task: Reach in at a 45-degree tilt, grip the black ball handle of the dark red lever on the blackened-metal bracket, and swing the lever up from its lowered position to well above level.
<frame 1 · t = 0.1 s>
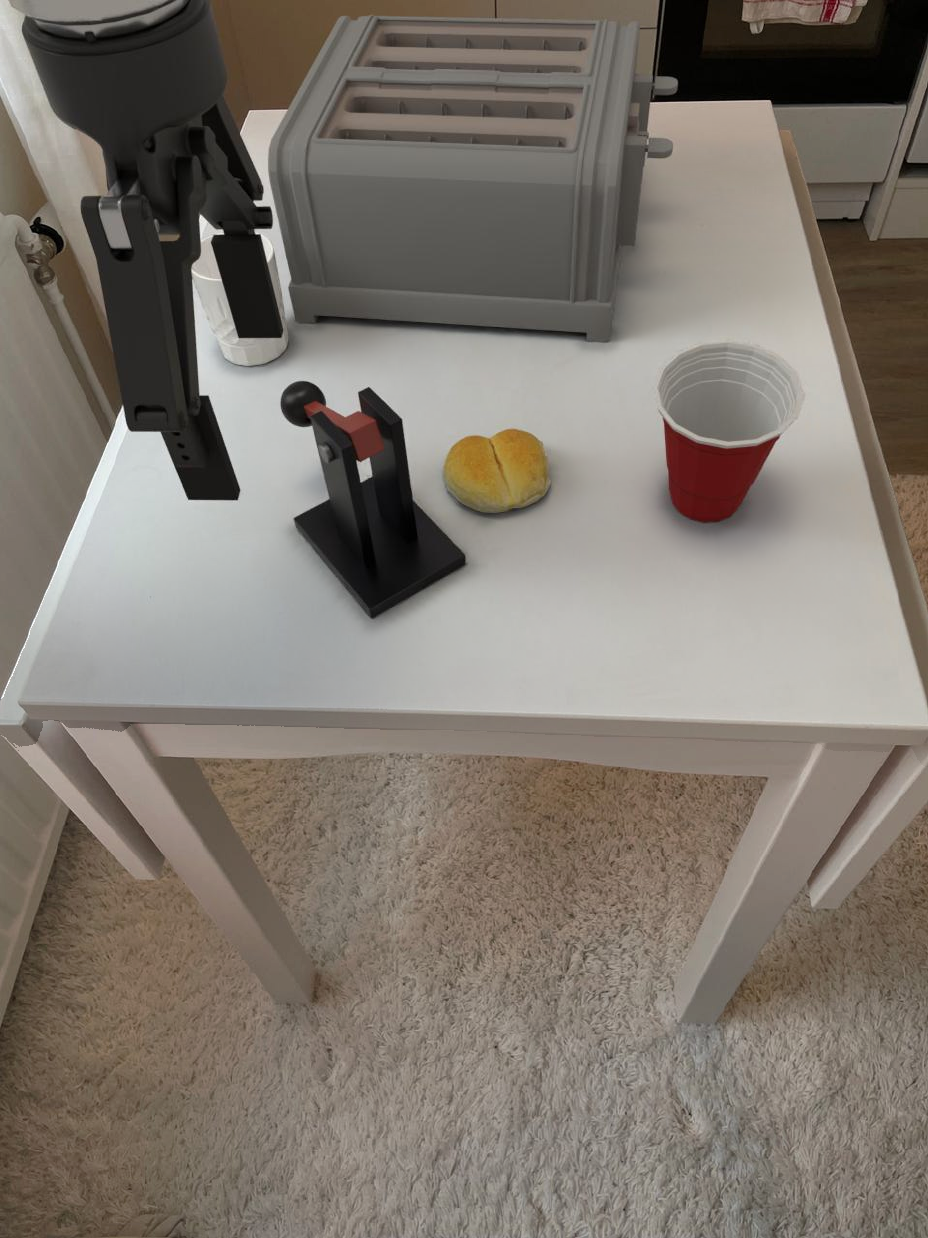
hand: (239, 409, 55), 23 cm above the table, tool pointing down, fingers open, 13 cm apart
bread roll: (499, 481, 82), on the table
plastic cup: (703, 501, 79), on the table
white cup: (255, 346, 94), on the table
lever: (328, 418, 72), point 10 cm above the table, hinge at -20.0°
bracket: (379, 545, 78), on the table
toaster: (490, 245, 103), on the table
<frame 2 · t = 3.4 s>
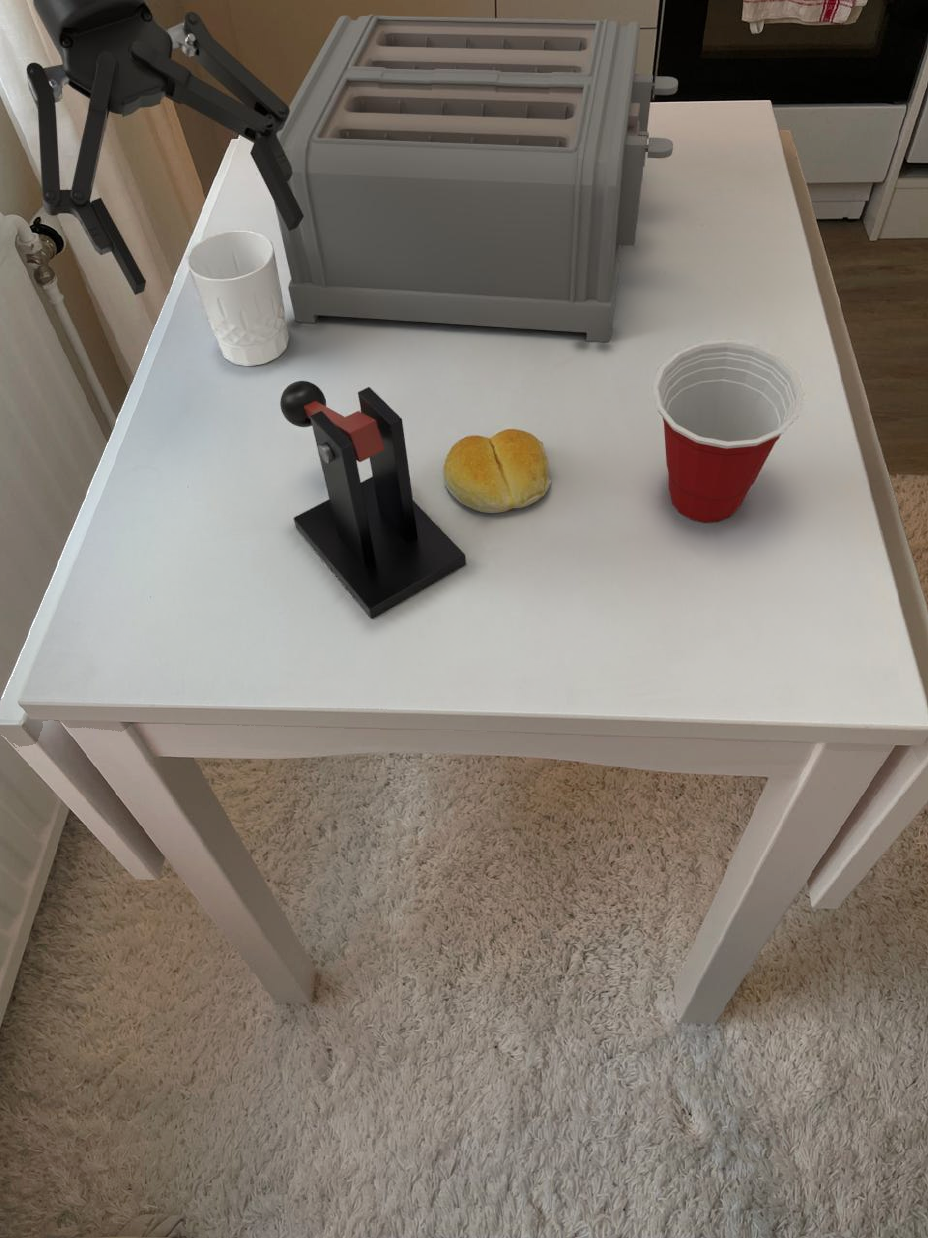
hand: (220, 255, 75), 17 cm above the table, tool tilted 45°, fingers open, 13 cm apart
nothing on the table moved.
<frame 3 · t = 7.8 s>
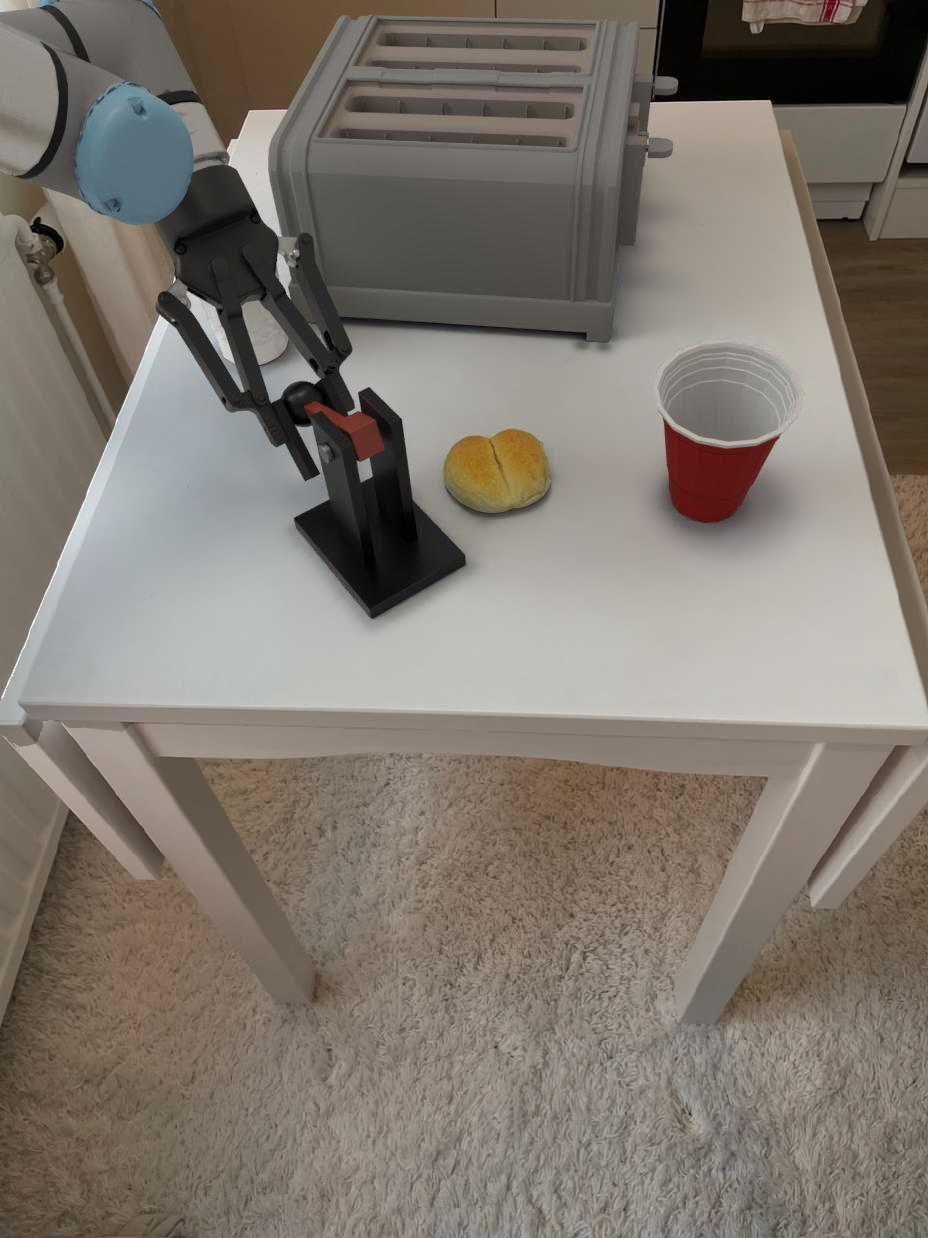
hand: (335, 465, 77), 5 cm above the table, tool tilted 45°, fingers closed on lever, 4 cm apart
lever: (328, 418, 72), point 10 cm above the table, hinge at -20.0°, touching gripper
everything else where it was.
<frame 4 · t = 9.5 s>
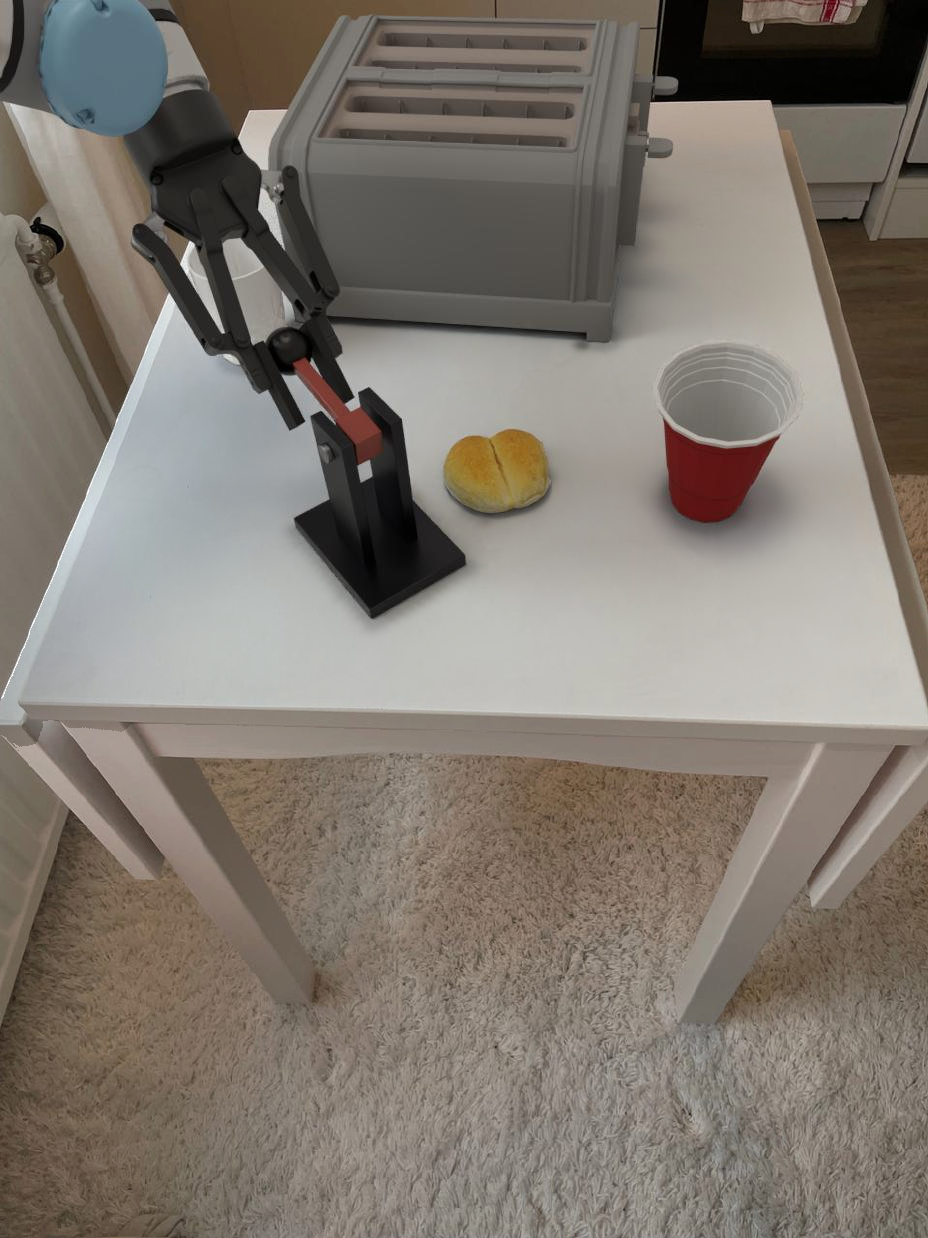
hand: (321, 413, 73), 10 cm above the table, tool tilted 45°, fingers closed on lever, 4 cm apart
lever: (321, 390, 70), point 13 cm above the table, hinge at 8.2°, touching gripper
everything else where it was.
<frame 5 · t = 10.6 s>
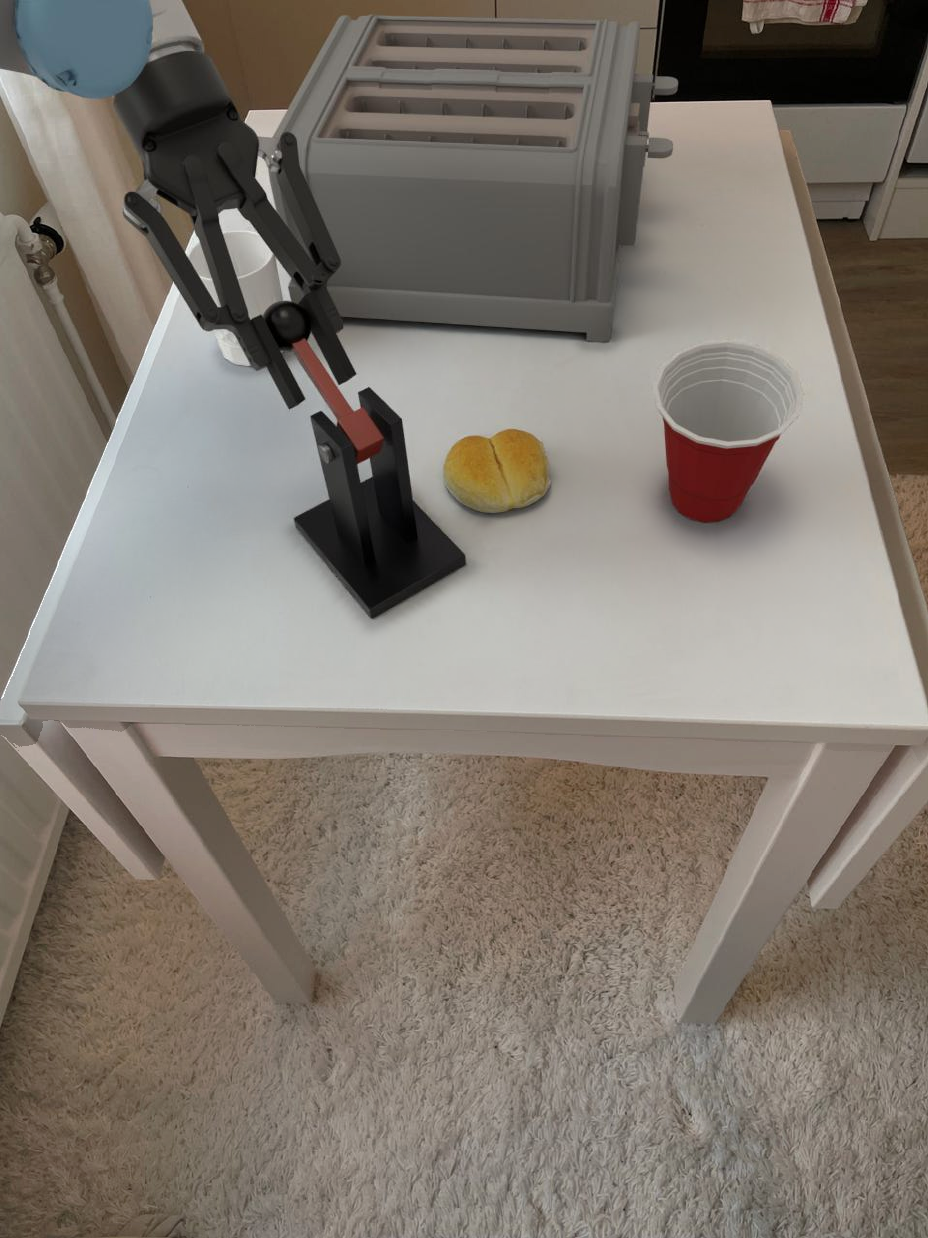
hand: (322, 391, 70), 13 cm above the table, tool tilted 45°, fingers closed on lever, 4 cm apart
lever: (320, 378, 69), point 14 cm above the table, hinge at 24.3°, touching gripper
everything else where it was.
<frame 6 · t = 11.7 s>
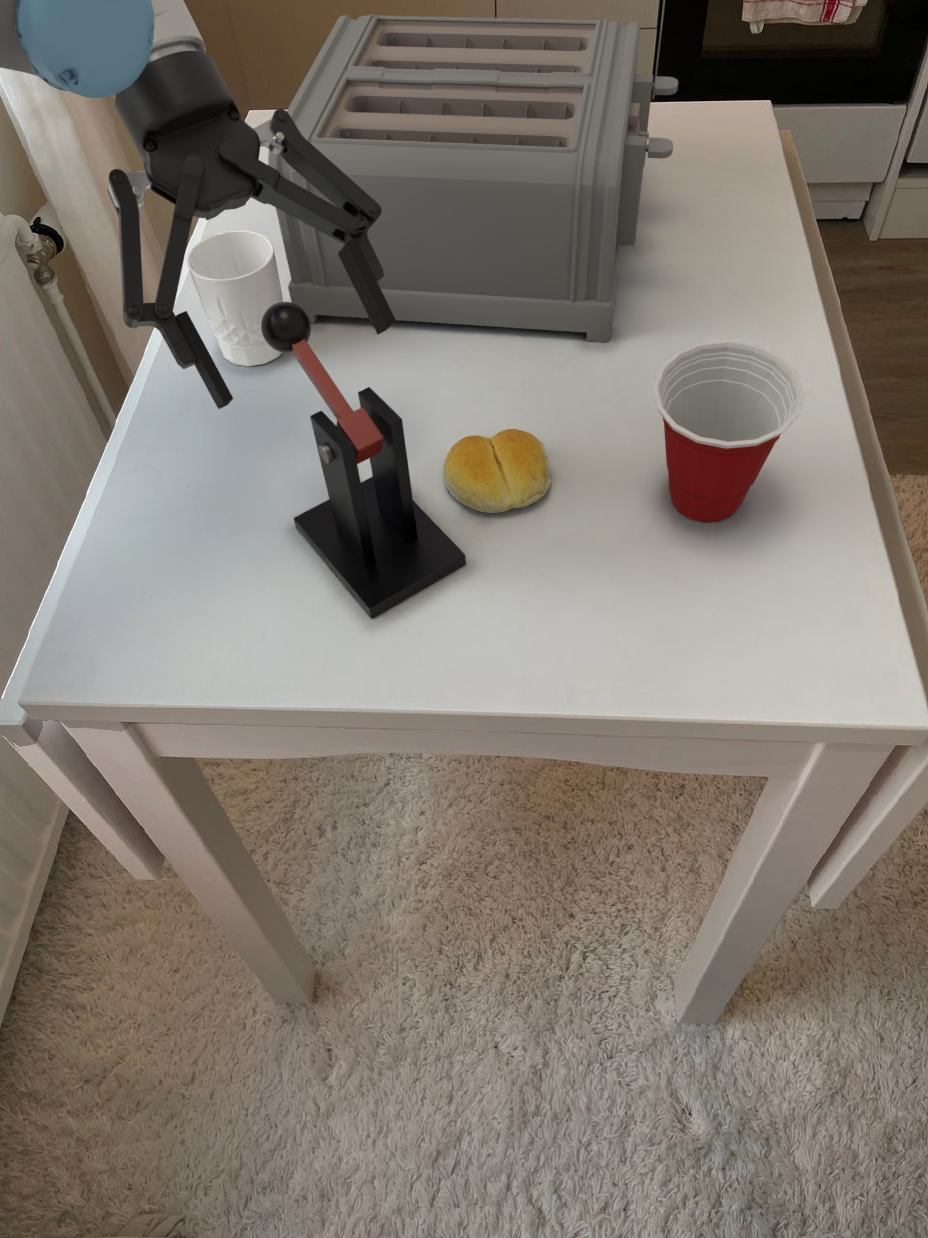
hand: (309, 365, 70), 14 cm above the table, tool tilted 45°, fingers open, 13 cm apart
lever: (320, 379, 69), point 14 cm above the table, hinge at 23.6°
everything else where it was.
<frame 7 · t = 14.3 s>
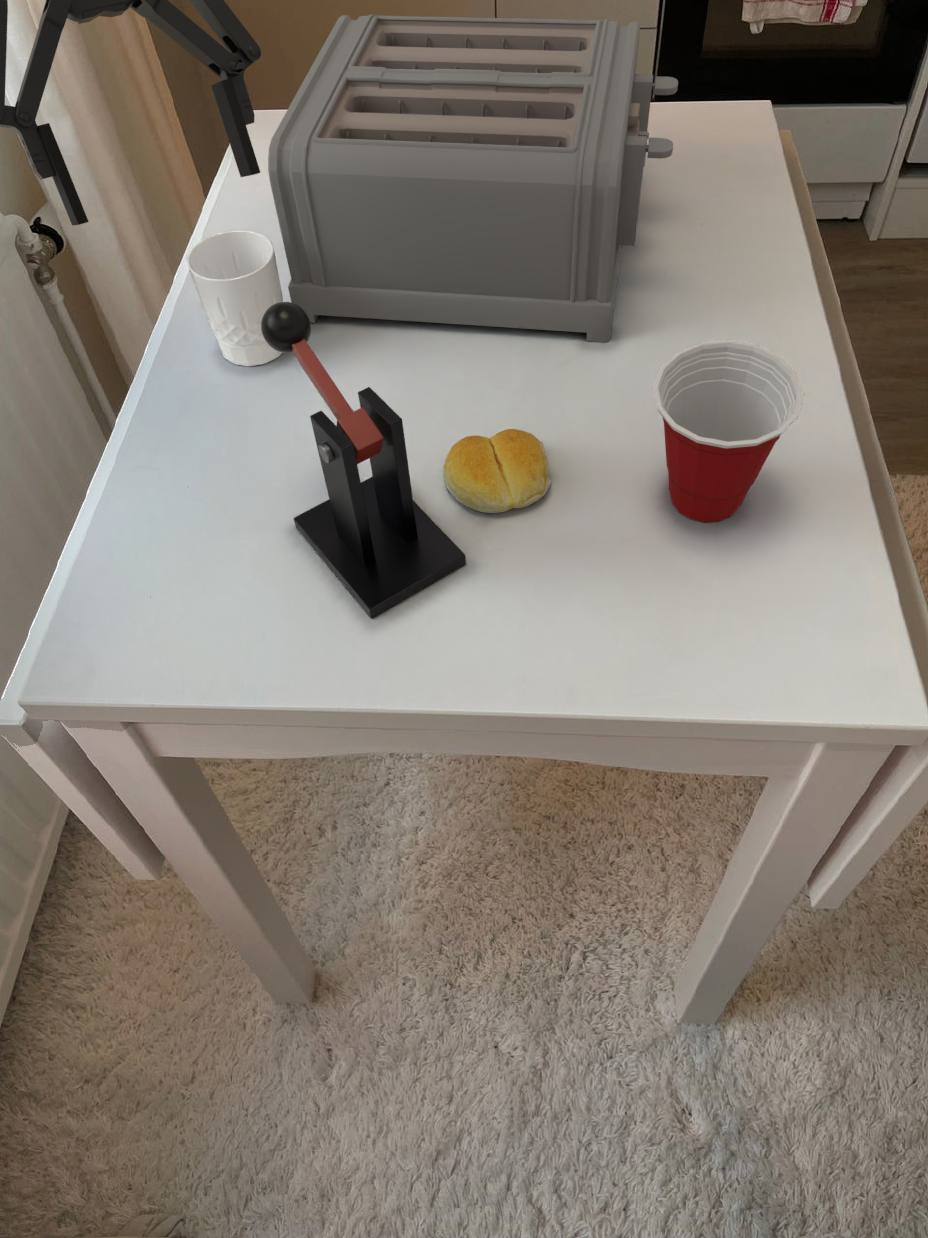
hand: (168, 199, 72), 21 cm above the table, tool tilted 25°, fingers open, 13 cm apart
nothing on the table moved.
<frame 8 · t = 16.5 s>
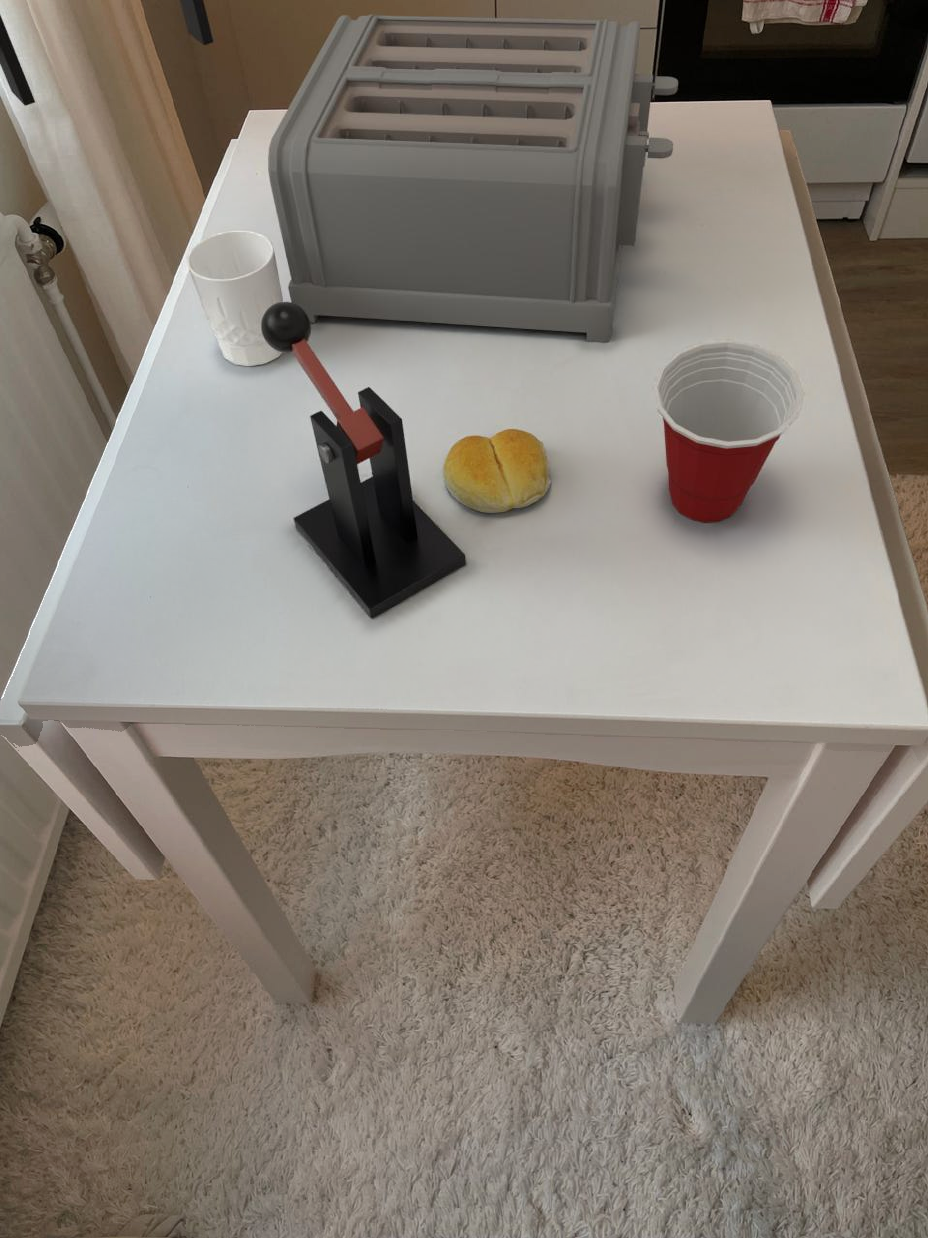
hand: (115, 66, 68), 29 cm above the table, tool pointing down, fingers open, 13 cm apart
nothing on the table moved.
at the end: lever at +24° (first picture: -20°); white cup moved 0.2 cm from its start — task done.
